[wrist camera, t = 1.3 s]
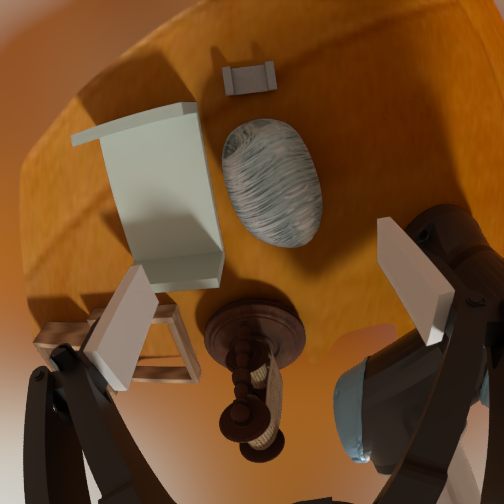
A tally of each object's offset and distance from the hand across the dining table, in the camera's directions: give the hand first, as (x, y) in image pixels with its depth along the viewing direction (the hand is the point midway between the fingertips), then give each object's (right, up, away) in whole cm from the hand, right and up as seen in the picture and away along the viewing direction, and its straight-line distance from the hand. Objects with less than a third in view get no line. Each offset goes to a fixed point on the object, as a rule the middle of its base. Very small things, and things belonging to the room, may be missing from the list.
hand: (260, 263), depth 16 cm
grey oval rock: (+2, +9, +17) cm, 20 cm away
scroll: (0, -11, +28) cm, 30 cm away
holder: (-11, +8, +18) cm, 22 cm away
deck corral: (-18, -14, +30) cm, 38 cm away
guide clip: (-1, +19, +12) cm, 22 cm away
